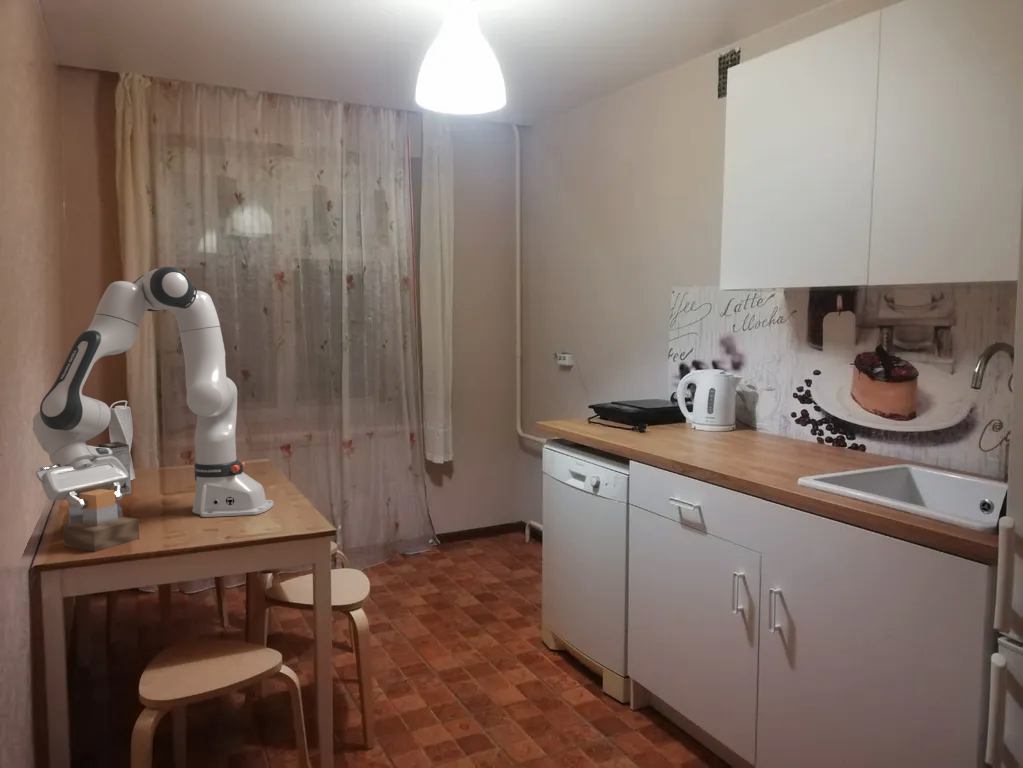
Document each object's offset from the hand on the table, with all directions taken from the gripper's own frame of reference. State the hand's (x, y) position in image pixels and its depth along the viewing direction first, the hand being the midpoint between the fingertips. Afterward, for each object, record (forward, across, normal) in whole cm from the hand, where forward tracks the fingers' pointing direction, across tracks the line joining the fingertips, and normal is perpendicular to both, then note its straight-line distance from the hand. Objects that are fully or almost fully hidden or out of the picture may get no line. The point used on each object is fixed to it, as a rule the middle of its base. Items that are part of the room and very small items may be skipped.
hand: (101, 503), depth 188 cm
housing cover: (0, -1, 0) cm, 1 cm away
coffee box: (-26, +36, +40) cm, 60 cm away
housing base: (+3, 0, +4) cm, 5 cm away
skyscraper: (-36, +49, +51) cm, 79 cm away
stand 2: (+7, 0, +8) cm, 10 cm away
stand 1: (-4, +8, +18) cm, 20 cm away
